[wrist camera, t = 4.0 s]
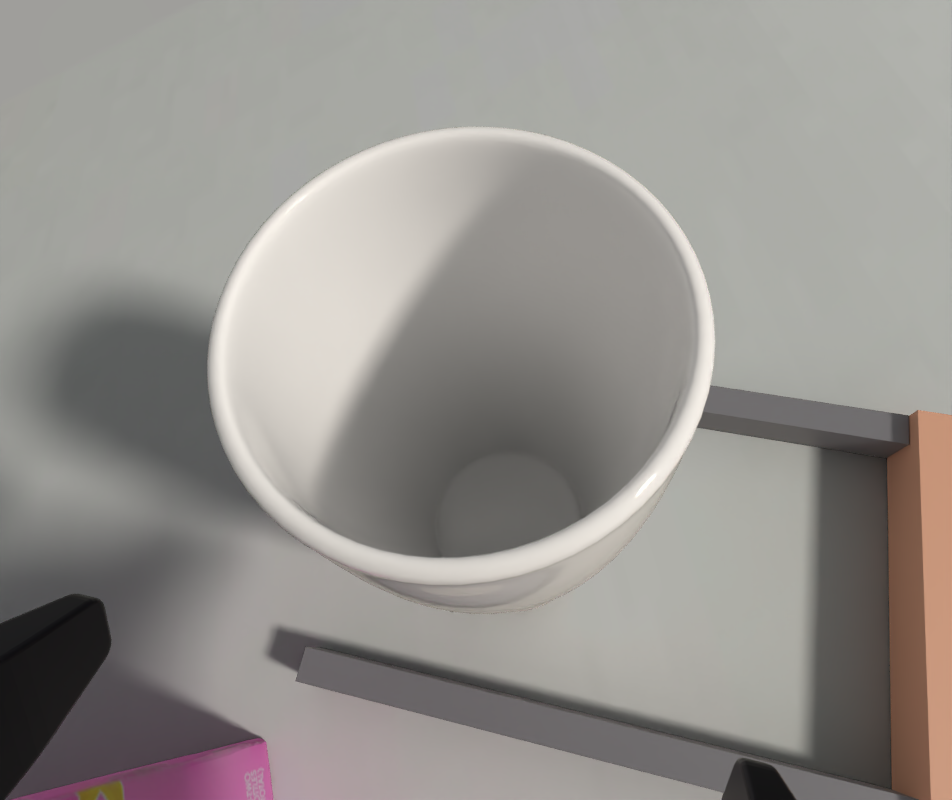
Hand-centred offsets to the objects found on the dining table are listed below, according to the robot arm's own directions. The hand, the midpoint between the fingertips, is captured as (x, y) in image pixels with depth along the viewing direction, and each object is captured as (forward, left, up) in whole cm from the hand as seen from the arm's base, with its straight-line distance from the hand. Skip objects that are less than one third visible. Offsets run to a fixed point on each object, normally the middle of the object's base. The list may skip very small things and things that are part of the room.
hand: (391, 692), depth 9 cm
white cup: (+3, +3, -13) cm, 14 cm away
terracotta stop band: (+12, -6, -13) cm, 19 cm away
